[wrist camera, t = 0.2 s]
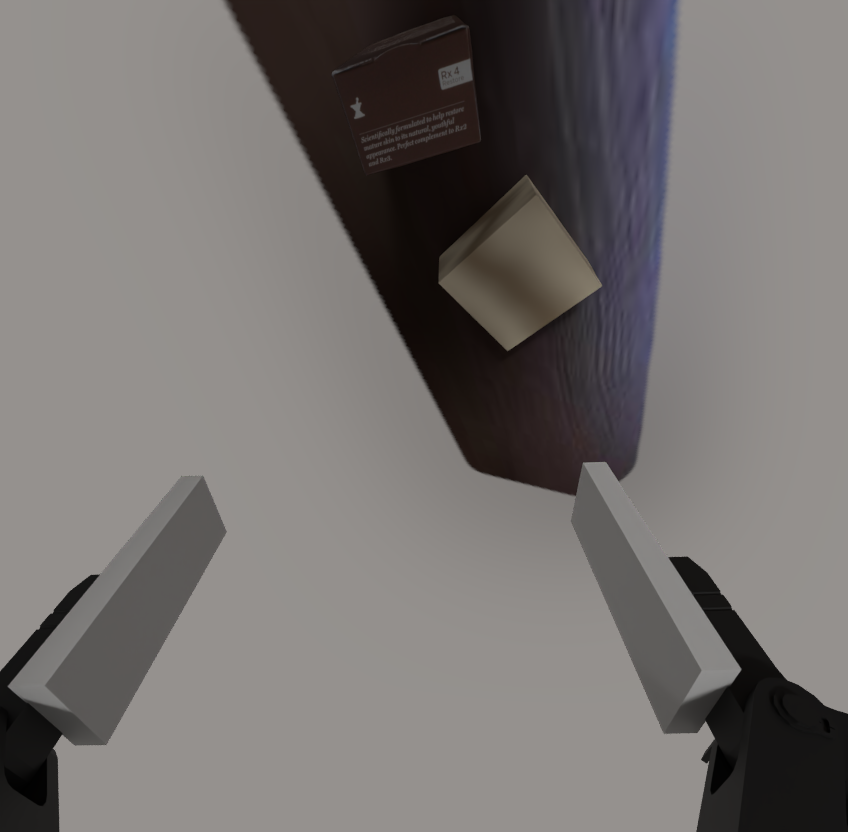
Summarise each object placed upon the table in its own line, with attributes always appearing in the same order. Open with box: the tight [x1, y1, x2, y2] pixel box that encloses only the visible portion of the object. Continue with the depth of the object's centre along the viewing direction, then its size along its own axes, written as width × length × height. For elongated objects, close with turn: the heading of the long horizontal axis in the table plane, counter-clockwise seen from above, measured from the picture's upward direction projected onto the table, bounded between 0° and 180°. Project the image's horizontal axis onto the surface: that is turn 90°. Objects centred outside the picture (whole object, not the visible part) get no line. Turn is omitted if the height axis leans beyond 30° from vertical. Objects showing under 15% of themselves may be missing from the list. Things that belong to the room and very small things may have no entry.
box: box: [332, 15, 481, 175], centre depth 21 cm, size 6×4×12 cm
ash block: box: [438, 175, 602, 351], centre depth 32 cm, size 9×9×5 cm
